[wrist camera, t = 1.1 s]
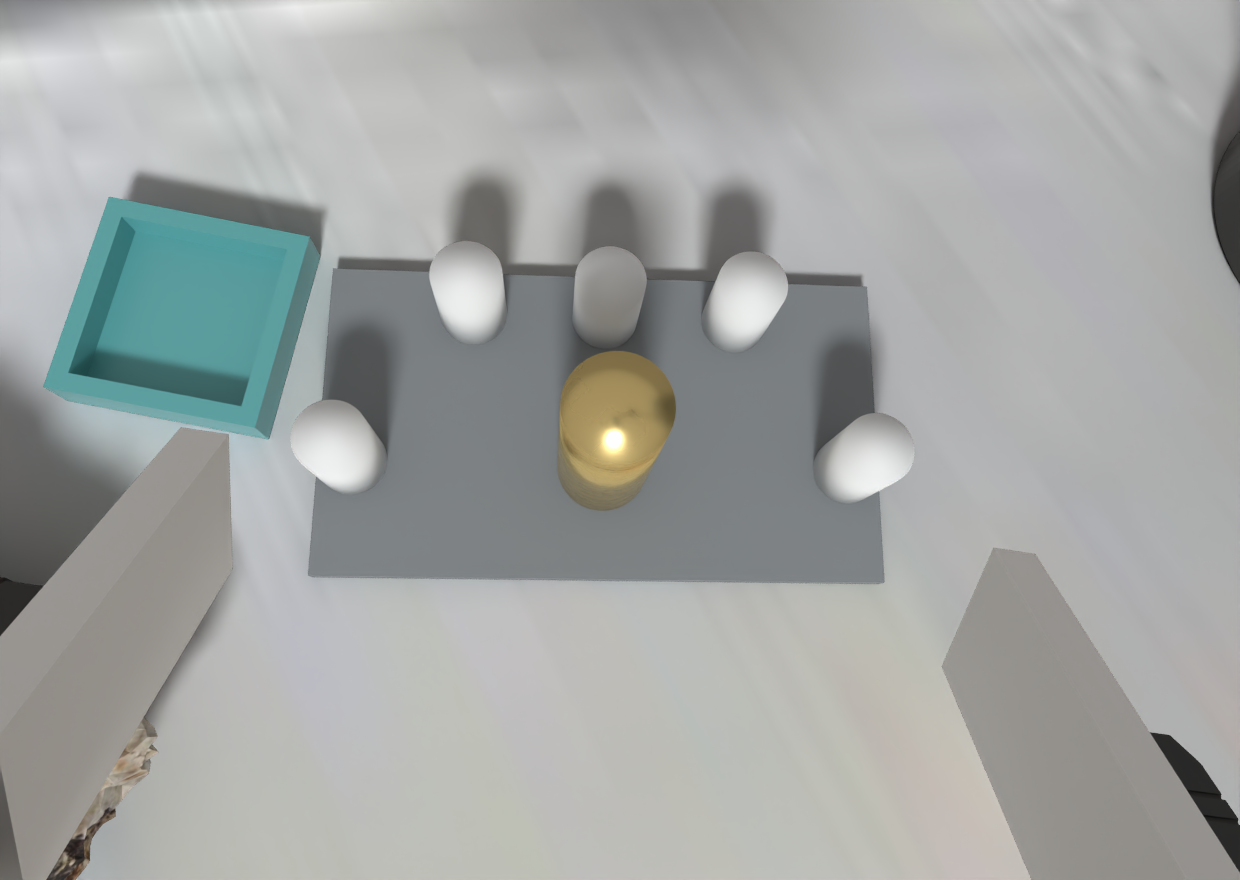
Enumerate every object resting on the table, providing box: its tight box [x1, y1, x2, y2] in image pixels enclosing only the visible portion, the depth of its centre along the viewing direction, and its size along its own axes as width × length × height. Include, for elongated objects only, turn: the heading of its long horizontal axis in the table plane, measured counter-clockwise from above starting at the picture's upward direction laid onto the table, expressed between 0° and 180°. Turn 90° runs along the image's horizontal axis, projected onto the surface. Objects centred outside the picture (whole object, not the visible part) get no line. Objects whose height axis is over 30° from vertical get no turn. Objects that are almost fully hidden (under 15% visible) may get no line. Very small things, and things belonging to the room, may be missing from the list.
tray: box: [43, 197, 320, 439], centre depth 43 cm, size 9×9×2 cm
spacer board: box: [290, 241, 915, 584], centre depth 41 cm, size 25×14×5 cm, turn 90°
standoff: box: [557, 351, 676, 511], centre depth 38 cm, size 4×4×10 cm
